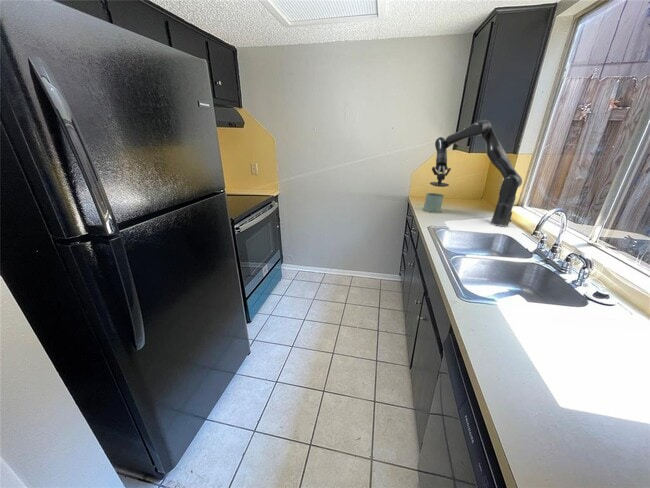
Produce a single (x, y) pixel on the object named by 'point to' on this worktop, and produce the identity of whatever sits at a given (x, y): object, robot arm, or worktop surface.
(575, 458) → the worktop surface
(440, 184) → the lid
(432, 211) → the teal cylindrical pot
